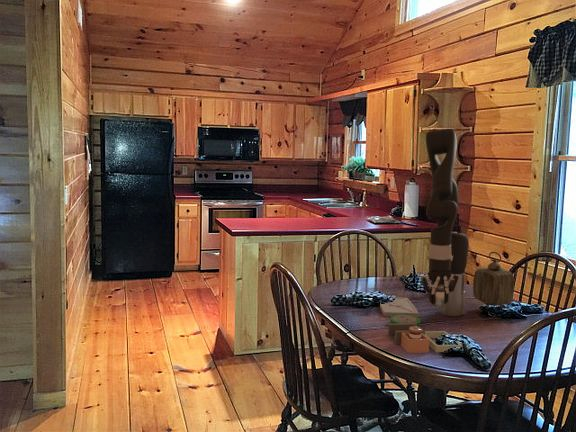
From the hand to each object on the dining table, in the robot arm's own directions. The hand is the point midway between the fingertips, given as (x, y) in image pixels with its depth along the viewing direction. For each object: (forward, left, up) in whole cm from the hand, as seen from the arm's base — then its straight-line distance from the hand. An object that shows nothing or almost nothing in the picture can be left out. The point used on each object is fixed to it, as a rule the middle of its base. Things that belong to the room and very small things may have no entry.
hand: (438, 303), depth 193 cm
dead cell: (+14, +14, -11) cm, 23 cm away
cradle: (+14, +5, -12) cm, 19 cm away
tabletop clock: (-34, -25, -12) cm, 44 cm away
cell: (0, 0, -1) cm, 1 cm away
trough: (+3, +11, -12) cm, 16 cm away
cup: (+14, +14, -12) cm, 23 cm away
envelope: (+4, -33, -12) cm, 35 cm away
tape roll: (+8, -11, -12) cm, 18 cm away
